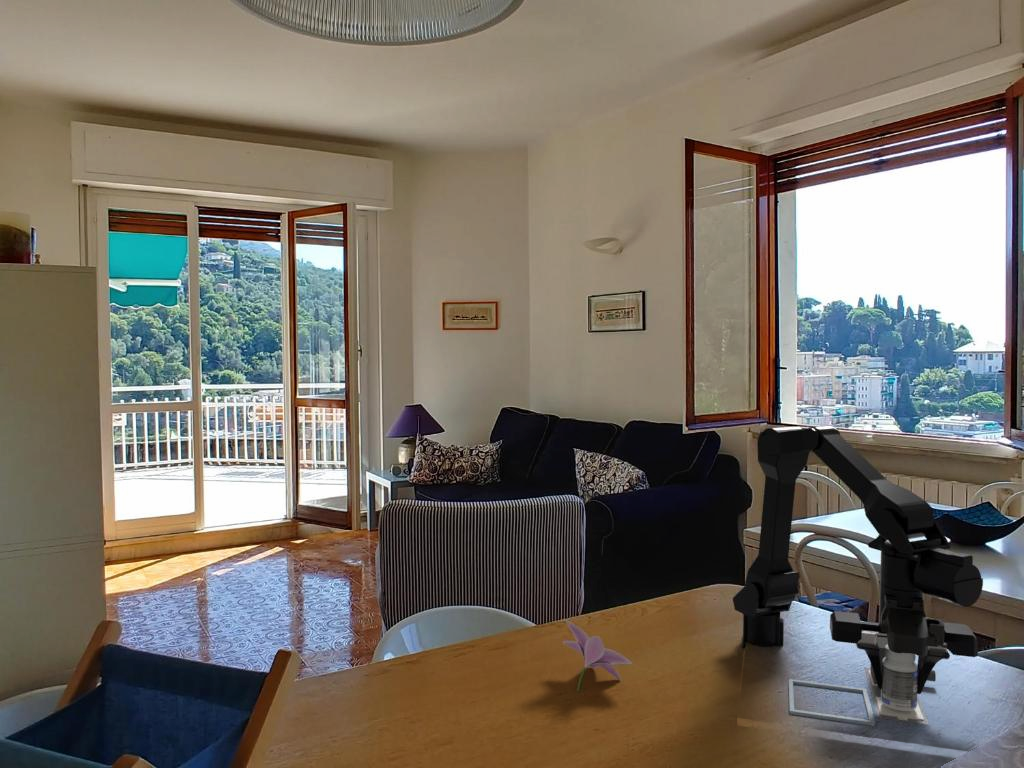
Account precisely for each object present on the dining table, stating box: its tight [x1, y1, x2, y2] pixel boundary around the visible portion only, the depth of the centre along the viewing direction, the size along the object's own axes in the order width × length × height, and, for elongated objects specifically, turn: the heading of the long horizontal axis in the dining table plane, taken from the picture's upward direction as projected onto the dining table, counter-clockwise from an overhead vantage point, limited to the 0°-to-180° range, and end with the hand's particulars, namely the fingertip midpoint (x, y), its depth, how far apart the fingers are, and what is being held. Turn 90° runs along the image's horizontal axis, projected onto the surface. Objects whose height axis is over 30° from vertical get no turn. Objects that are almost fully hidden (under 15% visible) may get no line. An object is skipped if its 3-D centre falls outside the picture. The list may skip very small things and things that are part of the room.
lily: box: [562, 619, 633, 691], centre depth 124 cm, size 12×12×10 cm
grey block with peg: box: [870, 637, 937, 684], centre depth 122 cm, size 9×5×6 cm, turn 71°
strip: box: [864, 667, 930, 726], centre depth 118 cm, size 6×18×1 cm, turn 161°
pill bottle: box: [881, 644, 918, 711], centre depth 113 cm, size 5×5×8 cm
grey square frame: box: [788, 678, 876, 727], centre depth 115 cm, size 11×11×1 cm
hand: (898, 690), depth 113 cm, fingers closed on pill bottle, 5 cm apart
